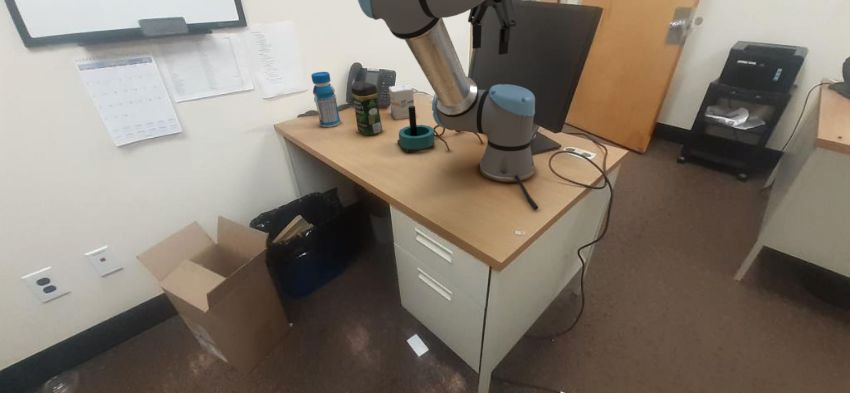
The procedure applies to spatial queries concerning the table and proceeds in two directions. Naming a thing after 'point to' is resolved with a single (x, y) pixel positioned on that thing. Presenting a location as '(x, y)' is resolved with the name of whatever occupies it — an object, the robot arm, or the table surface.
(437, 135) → the glasses
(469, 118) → the robot arm
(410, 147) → the ring
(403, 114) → the ink box
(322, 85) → the beverage bottle
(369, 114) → the coffee jar
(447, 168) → the table surface
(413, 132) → the peg stand
